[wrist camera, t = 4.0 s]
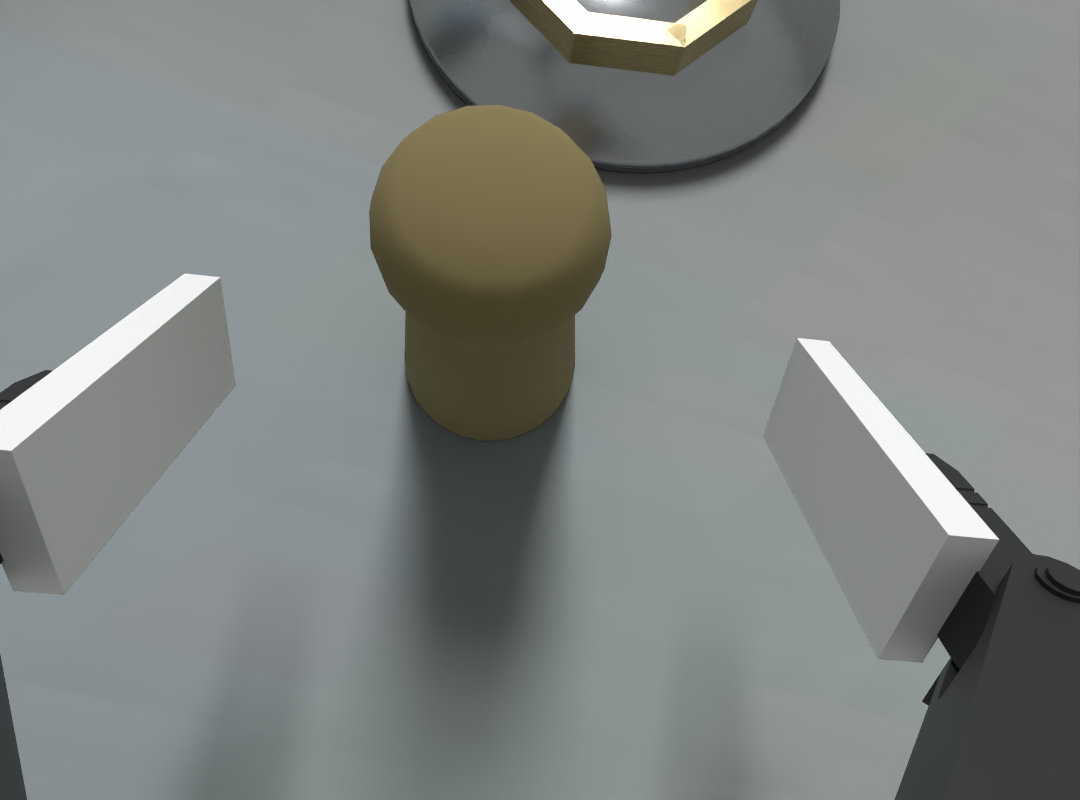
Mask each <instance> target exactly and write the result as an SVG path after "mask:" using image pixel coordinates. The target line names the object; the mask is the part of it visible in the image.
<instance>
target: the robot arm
mask: <svg viewBox="0 0 1080 800" xmlns="http://www.w3.org/2000/svg"><path fill="white" fill-rule="evenodd" d="M235 385H236V384H235V377H234V370H233V363H232V356H231V349H230V342H229V335H228V328H227V321H226V315H225V308H224V301H223V294H222V287H221V280H220V277H212V276H202V275H193V274H184V275H182V276H181V277H179V278H178V279H177V280H175V281H174V282H173V283H171V284H170V285H169V286H167V287H166V288H165V289H163V290H162V291H161V292H159V293H158V294H156V295H155V296H154V297H152V298H151V299H150V300H148V301H147V302H146V303H144V304H143V305H142V306H140V307H139V308H137V309H136V310H135V311H133V312H132V313H131V314H129V315H128V316H127V317H125V318H124V319H123V320H121V321H120V322H119V323H117V324H116V325H114V326H113V327H112V328H110V329H109V330H108V331H106V332H105V333H104V334H102V335H101V336H100V337H98V338H97V339H95V340H94V341H93V342H91V343H90V344H89V345H87V346H86V347H85V348H83V349H82V350H81V351H79V352H78V353H76V354H75V355H74V356H72V357H71V358H70V359H68V360H67V361H66V362H64V363H63V364H62V365H60V366H59V367H58V368H56V369H55V370H53V371H49V370H45V371H43V372H40V373H38V374H35V375H33V376H30V377H28V378H25V379H23V380H20V381H18V382H15V383H14V384H12V385H11V386H9V387H8V388H7V389H5V390H4V391H2V392H1V393H0V564H1V563H2V565H3V568H4V570H5V572H6V575H7V577H8V579H9V582H10V584H11V586H12V589H13V591H23V592H36V593H48V594H61V595H64V594H65V593H66V592H67V591H68V590H69V588H70V587H71V586H72V585H73V583H74V582H75V581H76V580H77V579H78V577H79V576H80V575H81V574H82V572H83V571H84V570H85V569H86V568H87V566H88V565H89V564H90V563H91V561H92V560H93V559H94V558H95V557H96V555H97V554H98V553H99V552H100V550H101V549H102V548H103V547H104V546H105V544H106V543H107V542H108V541H109V539H110V538H111V537H112V536H113V534H114V533H115V532H116V531H117V530H118V528H119V527H120V526H121V525H122V523H123V522H124V521H125V520H126V519H127V517H128V516H129V515H130V514H131V512H132V511H133V510H134V509H135V508H136V506H137V505H138V504H139V503H140V501H141V500H142V499H143V498H144V497H145V495H146V494H147V493H148V492H149V490H150V489H151V488H152V487H153V486H154V484H155V483H156V482H157V481H158V479H159V478H160V477H161V476H162V475H163V473H164V472H165V471H166V470H167V468H168V467H169V466H170V465H171V464H172V462H173V461H174V460H175V459H176V457H177V456H178V455H179V454H180V453H181V451H182V450H183V449H184V448H185V446H186V445H187V444H188V443H189V442H190V440H191V439H192V438H193V437H194V435H195V434H196V433H197V432H198V431H199V429H200V428H201V427H202V426H203V424H204V423H205V422H206V421H207V420H208V418H209V417H210V416H211V415H212V413H213V412H214V411H215V410H216V409H217V407H218V406H219V405H220V404H221V402H222V401H223V400H224V399H225V398H226V396H227V395H228V394H229V393H230V391H231V390H232V389H233V388H234V387H235ZM763 437H764V439H765V441H766V443H767V445H768V447H769V448H770V450H771V452H772V454H773V456H774V458H775V460H776V462H777V464H778V466H779V468H780V470H781V472H782V474H783V476H784V478H785V480H786V481H787V483H788V485H789V487H790V489H791V491H792V493H793V495H794V497H795V499H796V501H797V503H798V505H799V507H800V509H801V511H802V513H803V515H804V516H805V518H806V520H807V522H808V524H809V526H810V528H811V530H812V532H813V534H814V536H815V538H816V540H817V542H818V544H819V546H820V548H821V549H822V551H823V553H824V555H825V557H826V559H827V561H828V563H829V565H830V567H831V569H832V571H833V573H834V575H835V577H836V579H837V581H838V582H839V584H840V586H841V588H842V590H843V592H844V594H845V596H846V598H847V600H848V602H849V604H850V606H851V608H852V610H853V612H854V614H855V615H856V617H857V619H858V621H859V623H860V625H861V627H862V629H863V631H864V633H865V635H866V637H867V639H868V641H869V643H870V645H871V647H872V648H873V650H874V652H875V654H876V656H877V658H878V659H884V660H896V661H909V662H923V661H924V659H925V657H926V656H927V654H928V653H929V651H930V649H931V648H932V646H933V645H934V643H935V641H936V640H937V638H938V637H939V639H940V641H941V642H942V644H943V645H944V647H945V649H946V650H947V652H948V653H949V655H950V657H951V658H950V659H949V661H948V662H947V664H946V666H945V667H944V669H943V670H942V672H941V673H940V675H939V676H938V678H937V679H936V681H935V682H934V684H933V685H932V687H931V688H930V690H929V691H928V693H927V694H926V696H925V697H924V699H923V701H922V702H924V703H925V704H927V705H929V707H928V710H927V712H926V715H925V718H924V721H923V723H922V726H921V729H920V732H919V734H918V737H917V740H916V743H915V745H914V748H913V751H912V754H911V756H910V759H909V762H908V765H907V767H906V770H905V773H904V776H903V778H902V781H901V784H900V787H899V789H898V792H897V795H896V798H895V800H1080V570H1078V569H1076V568H1075V567H1073V566H1071V565H1069V564H1067V563H1064V562H1062V561H1059V560H1056V559H1053V558H1051V557H1048V556H1041V555H1035V554H1032V553H1031V552H1030V551H1029V550H1028V548H1027V547H1026V546H1025V545H1024V544H1023V543H1022V542H1021V541H1020V539H1019V538H1018V537H1017V536H1016V535H1015V534H1014V533H1013V532H1012V531H1011V529H1010V528H1009V527H1008V526H1007V525H1006V524H1005V523H1004V522H1003V521H1002V519H1001V518H1000V517H999V516H998V515H997V514H996V513H995V512H994V511H993V509H992V508H988V506H987V505H988V504H987V503H986V502H985V501H984V499H983V498H982V497H981V496H980V495H979V494H978V493H974V488H973V487H972V486H971V485H970V484H969V483H968V482H967V480H966V479H965V478H964V477H963V476H962V475H961V474H960V473H959V472H958V471H957V470H956V469H954V468H953V467H951V466H950V465H949V464H947V463H946V462H944V461H943V460H941V459H940V458H938V457H937V456H936V455H934V454H928V453H924V451H923V450H922V449H921V448H920V447H919V446H918V444H917V443H916V442H915V441H914V440H913V439H912V437H911V436H910V435H909V434H908V433H907V432H906V430H905V429H904V428H903V427H902V426H901V425H900V424H899V422H898V421H897V420H896V419H895V418H894V417H893V415H892V414H891V413H890V412H889V411H888V410H887V408H886V407H885V406H884V405H883V404H882V403H881V401H880V400H879V399H878V398H877V397H876V396H875V394H874V393H873V392H872V391H871V390H870V389H869V387H868V386H867V385H866V384H865V383H864V382H863V380H862V379H861V378H860V377H859V376H858V375H857V374H856V372H855V371H854V370H853V369H852V368H851V367H850V365H849V364H848V363H847V362H846V361H845V360H844V358H843V357H842V356H841V355H840V354H839V353H838V351H837V350H836V349H835V348H834V347H833V346H832V344H831V343H830V342H829V341H820V340H811V339H801V338H797V339H796V342H795V345H794V348H793V351H792V354H791V357H790V360H789V362H788V365H787V368H786V371H785V374H784V377H783V380H782V383H781V386H780V389H779V391H778V394H777V397H776V400H775V403H774V406H773V409H772V412H771V415H770V418H769V421H768V423H767V426H766V429H765V432H764V435H763ZM0 800H27V797H26V792H25V786H24V781H23V775H22V770H21V764H20V759H19V754H18V748H17V743H16V737H15V732H14V726H13V721H12V716H11V710H10V705H9V699H8V694H7V688H6V683H5V678H4V672H3V667H2V661H1V656H0Z"/></svg>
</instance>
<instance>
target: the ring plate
mask: <svg viewBox="0 0 1080 800" xmlns="http://www.w3.org/2000/svg"><path fill="white" fill-rule="evenodd" d="M409 2H410V6H411V10H412V14H413V18H414V22H415V26H416V29H417V31H418V33H419V36H420V38H421V40H422V43H423V45H424V48H425V50H426V52H427V53H428V55H429V57H430V58H431V60H432V62H433V63H434V65H435V67H436V68H437V70H438V72H439V73H440V74H441V76H442V77H443V78H444V79H445V81H446V82H447V83H448V84H449V86H450V87H451V88H452V89H453V91H454V92H455V93H456V94H457V95H458V96H459V97H460V98H461V99H462V100H463V101H464V102H465V103H466V104H467V105H468V106H479V105H503V106H507V107H511V108H515V109H519V110H524V111H528V112H532V113H534V114H536V115H537V116H539V117H541V118H543V119H545V120H546V121H548V122H550V123H552V124H553V125H555V126H557V127H559V128H561V129H562V130H563V131H564V132H565V133H566V134H567V135H568V136H569V137H570V138H571V139H572V140H573V141H574V142H575V144H576V145H577V146H578V147H579V148H580V149H581V150H582V151H583V152H584V153H585V154H586V155H587V156H588V157H589V158H590V159H591V161H592V163H593V165H594V167H595V168H596V169H602V170H608V171H615V172H633V173H652V172H668V171H676V170H681V169H687V168H692V167H697V166H702V165H705V164H708V163H711V162H714V161H717V160H720V159H723V158H726V157H729V156H731V155H733V154H735V153H737V152H739V151H741V150H743V149H745V148H747V147H749V146H751V145H753V144H754V143H756V142H757V141H759V140H760V139H762V138H763V137H765V136H766V135H768V134H769V133H771V132H772V131H773V130H774V129H776V128H777V127H778V126H779V125H780V124H781V123H782V122H783V121H784V120H786V119H787V118H788V117H789V116H790V115H791V114H792V113H793V111H794V110H795V109H796V108H797V106H798V105H799V104H800V103H801V101H802V100H803V99H804V98H805V96H806V95H807V94H808V92H809V91H810V89H811V88H812V86H813V85H814V83H815V82H816V80H817V78H818V77H819V75H820V73H821V71H822V70H823V68H824V66H825V64H826V63H827V60H828V58H829V55H830V52H831V50H832V47H833V44H834V42H835V38H836V33H837V28H838V23H839V18H840V0H409Z"/></svg>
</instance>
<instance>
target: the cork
mask: <svg viewBox="0 0 1080 800" xmlns="http://www.w3.org/2000/svg"><path fill="white" fill-rule="evenodd" d="M369 215H370V241H371V250H372V252H373V255H374V257H375V259H376V262H377V264H378V267H379V269H380V272H381V274H382V277H383V279H384V281H385V284H386V286H387V289H388V291H389V293H390V294H391V295H392V296H393V298H394V299H395V300H396V301H397V302H398V303H399V304H400V305H401V307H402V308H403V309H404V310H405V311H406V320H405V363H406V377H407V380H408V382H409V385H410V387H411V390H412V392H413V395H414V397H415V400H416V401H417V402H418V404H419V405H420V406H421V407H422V408H423V409H424V411H425V412H426V413H427V414H428V415H429V416H430V418H431V419H432V420H433V421H434V422H436V423H438V424H439V425H441V426H443V427H444V428H446V429H448V430H449V431H451V432H453V433H454V434H456V435H459V436H463V437H468V438H472V439H476V440H480V441H492V440H505V439H512V438H515V437H517V436H519V435H522V434H524V433H527V432H529V431H532V430H534V429H536V428H537V427H539V426H540V425H541V424H542V423H543V422H544V421H546V420H547V419H548V418H549V417H550V416H551V415H553V414H554V413H555V412H556V411H557V409H558V408H559V406H560V404H561V403H562V401H563V399H564V398H565V396H566V394H567V393H568V391H569V389H570V385H571V380H572V376H573V371H574V366H575V314H576V313H577V312H579V311H580V310H581V309H582V307H583V306H584V304H585V303H586V301H587V299H588V298H589V296H590V295H591V293H592V291H593V290H594V288H595V286H596V285H597V283H598V282H599V280H600V278H601V275H602V273H603V271H604V268H605V263H606V258H607V254H608V249H609V245H610V240H611V227H610V219H609V211H608V204H607V196H606V189H605V187H604V185H603V183H602V181H601V179H600V177H599V175H598V173H597V171H596V169H595V167H594V165H593V163H592V161H591V159H590V158H589V157H588V156H587V155H586V154H585V153H584V152H583V151H582V150H581V149H580V148H579V147H578V146H577V145H576V144H575V142H574V141H573V140H572V139H571V138H570V137H569V136H568V135H567V134H566V133H565V132H564V131H563V130H562V129H561V128H559V127H557V126H555V125H553V124H552V123H550V122H548V121H546V120H545V119H543V118H541V117H539V116H537V115H536V114H534V113H532V112H528V111H524V110H519V109H515V108H511V107H507V106H503V105H479V106H465V107H462V108H459V109H456V110H453V111H450V112H446V113H443V114H440V115H437V116H435V117H434V118H432V119H431V120H429V121H428V122H426V123H425V124H423V125H422V126H421V127H419V128H418V129H416V130H415V131H413V132H412V133H410V134H409V135H408V136H407V137H406V138H404V139H403V140H402V141H401V143H400V144H399V145H398V147H397V148H396V149H395V151H394V152H393V153H392V154H391V156H390V157H389V158H388V160H387V161H386V162H385V164H384V165H383V166H382V168H381V171H380V174H379V177H378V180H377V183H376V186H375V190H374V193H373V196H372V199H371V205H370V212H369Z"/></svg>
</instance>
